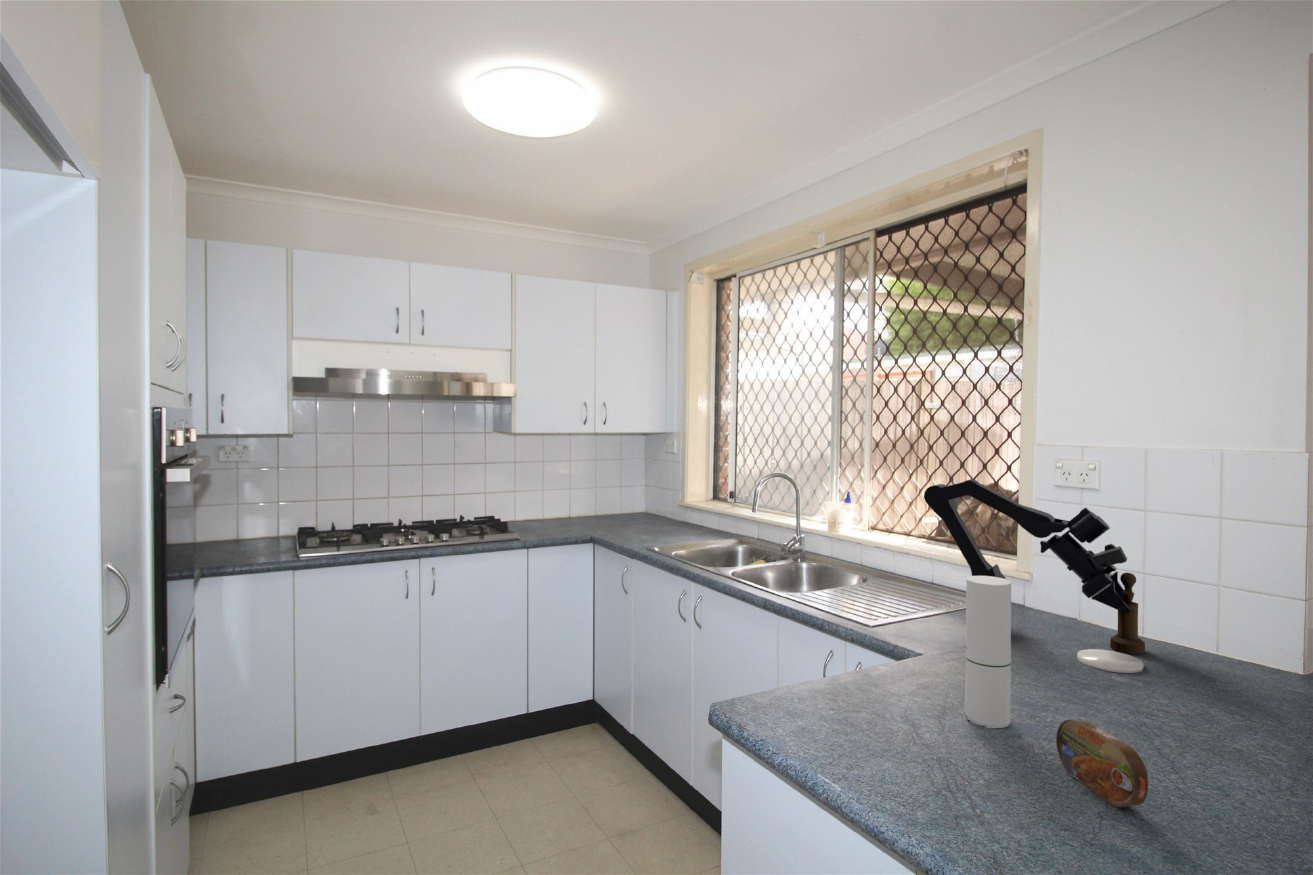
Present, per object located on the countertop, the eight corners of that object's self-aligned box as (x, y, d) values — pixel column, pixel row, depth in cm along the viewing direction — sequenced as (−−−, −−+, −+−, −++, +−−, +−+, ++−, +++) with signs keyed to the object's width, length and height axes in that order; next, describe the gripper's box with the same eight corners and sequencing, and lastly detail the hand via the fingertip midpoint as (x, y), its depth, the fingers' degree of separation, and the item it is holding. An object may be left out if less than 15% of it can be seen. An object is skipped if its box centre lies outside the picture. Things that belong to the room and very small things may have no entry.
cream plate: (1084, 668, 143) (1084, 663, 143) (1072, 650, 155) (1072, 646, 155) (1151, 676, 139) (1151, 671, 139) (1133, 657, 150) (1133, 653, 150)
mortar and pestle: (1134, 645, 158) (1135, 570, 158) (1151, 655, 152) (1152, 576, 151) (1104, 645, 159) (1105, 569, 158) (1120, 654, 152) (1121, 575, 152)
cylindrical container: (1006, 714, 121) (1007, 577, 120) (1013, 731, 114) (1014, 586, 114) (963, 708, 123) (964, 574, 123) (967, 725, 117) (968, 583, 116)
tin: (1054, 763, 104) (1054, 709, 104) (1073, 762, 104) (1073, 708, 104) (1130, 820, 89) (1131, 758, 89) (1153, 819, 89) (1153, 757, 89)
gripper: (1099, 539, 150) (1160, 595, 144) (1105, 529, 165) (1161, 579, 159) (1058, 570, 155) (1115, 625, 149) (1068, 557, 170) (1120, 607, 164)
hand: (1129, 608), depth 155 cm, fingers open, 9 cm apart
